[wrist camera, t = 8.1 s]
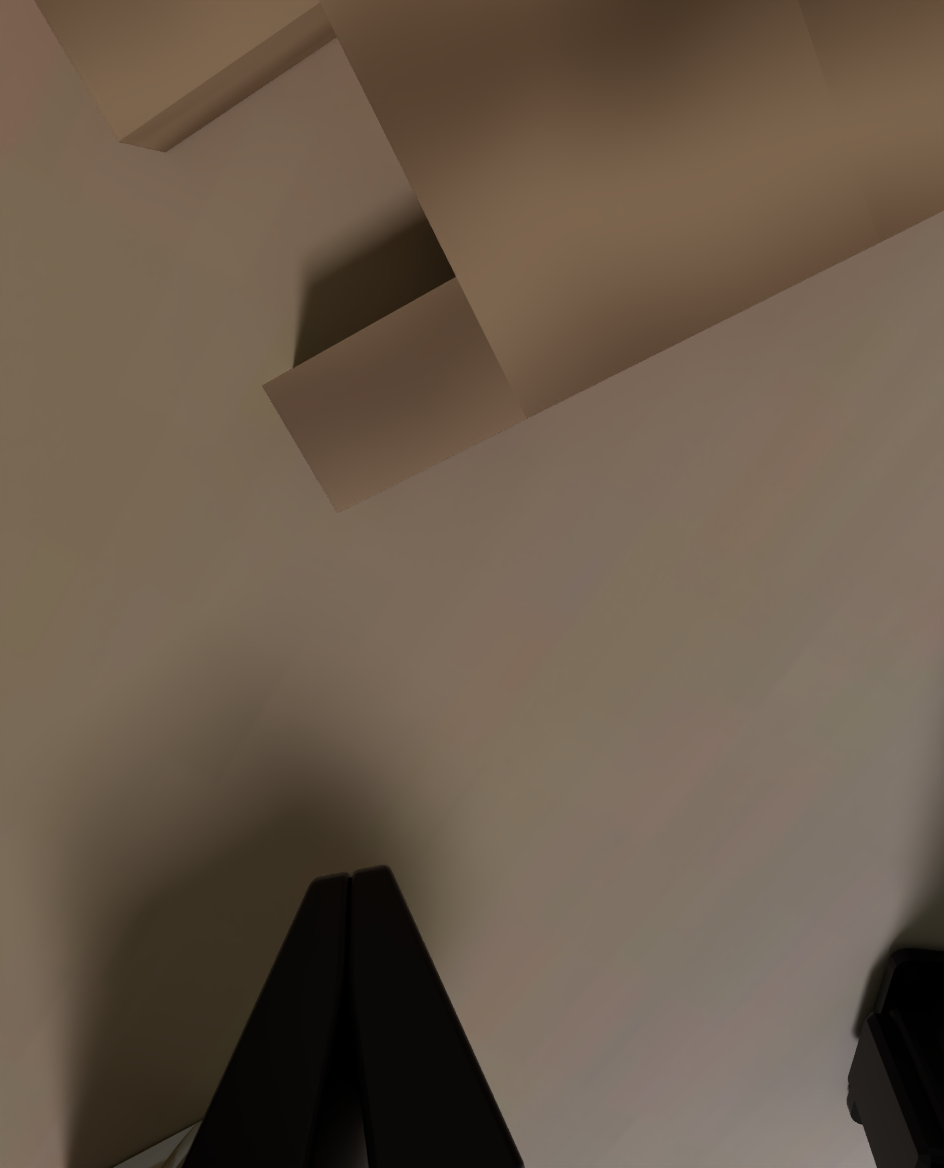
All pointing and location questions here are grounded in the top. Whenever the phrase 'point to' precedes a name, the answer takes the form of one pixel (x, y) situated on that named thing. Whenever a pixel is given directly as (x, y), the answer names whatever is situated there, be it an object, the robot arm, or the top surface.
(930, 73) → the trap runway
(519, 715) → the top surface
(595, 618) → the top surface
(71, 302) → the top surface
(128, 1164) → the coffee box
